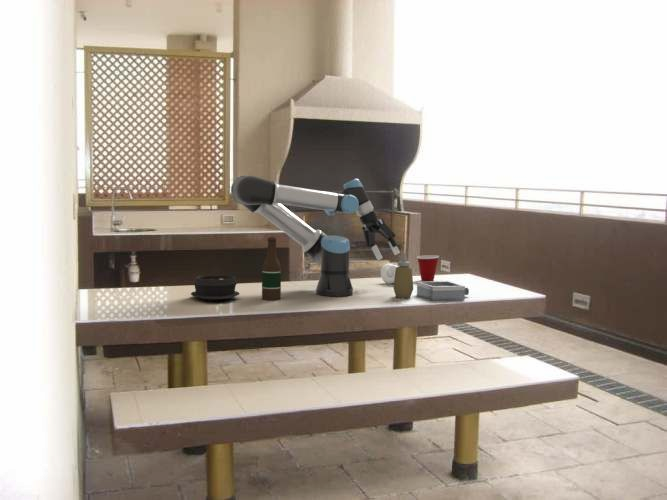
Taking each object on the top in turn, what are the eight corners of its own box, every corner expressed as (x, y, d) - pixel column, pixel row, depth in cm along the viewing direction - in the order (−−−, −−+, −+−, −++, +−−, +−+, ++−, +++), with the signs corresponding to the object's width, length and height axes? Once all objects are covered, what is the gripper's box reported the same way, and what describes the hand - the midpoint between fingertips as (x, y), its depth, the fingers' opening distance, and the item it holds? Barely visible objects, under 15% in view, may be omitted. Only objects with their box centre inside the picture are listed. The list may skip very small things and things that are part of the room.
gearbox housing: (432, 300, 265) (432, 287, 264) (416, 294, 279) (417, 281, 278) (475, 299, 270) (476, 285, 270) (458, 293, 284) (458, 280, 284)
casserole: (243, 303, 251) (243, 281, 250) (192, 304, 246) (192, 281, 245) (235, 293, 275) (235, 272, 274) (189, 294, 270) (188, 273, 270)
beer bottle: (265, 301, 257) (266, 238, 254) (258, 297, 264) (258, 236, 261) (284, 299, 260) (285, 237, 258) (276, 296, 267) (277, 236, 265)
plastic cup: (412, 279, 328) (413, 254, 327) (433, 278, 331) (433, 254, 330) (420, 282, 318) (421, 256, 316) (442, 281, 320) (442, 256, 319)
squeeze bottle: (412, 299, 268) (413, 254, 266) (391, 298, 269) (393, 253, 268) (413, 296, 275) (415, 252, 274) (394, 295, 277) (395, 251, 275)
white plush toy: (381, 285, 307) (382, 265, 306) (379, 281, 319) (379, 262, 318) (406, 285, 307) (407, 265, 306) (403, 281, 319) (403, 262, 318)
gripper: (388, 202, 283) (411, 247, 284) (358, 216, 304) (379, 257, 305) (375, 209, 279) (398, 255, 280) (345, 222, 300) (367, 265, 302)
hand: (388, 256), depth 293 cm, fingers open, 13 cm apart
